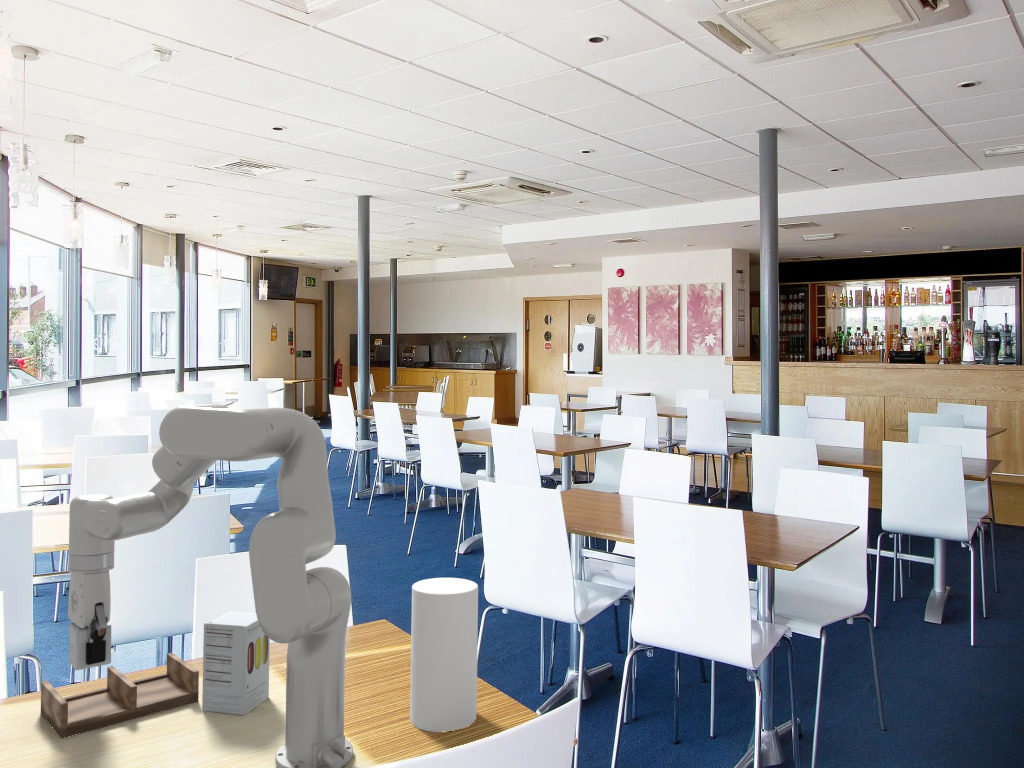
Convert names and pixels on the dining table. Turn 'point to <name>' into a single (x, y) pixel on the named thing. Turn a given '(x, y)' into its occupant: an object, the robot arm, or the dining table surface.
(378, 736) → the dining table surface
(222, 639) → the supplement box
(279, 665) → the dining table surface
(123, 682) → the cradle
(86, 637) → the skincare box
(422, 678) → the cylinder
